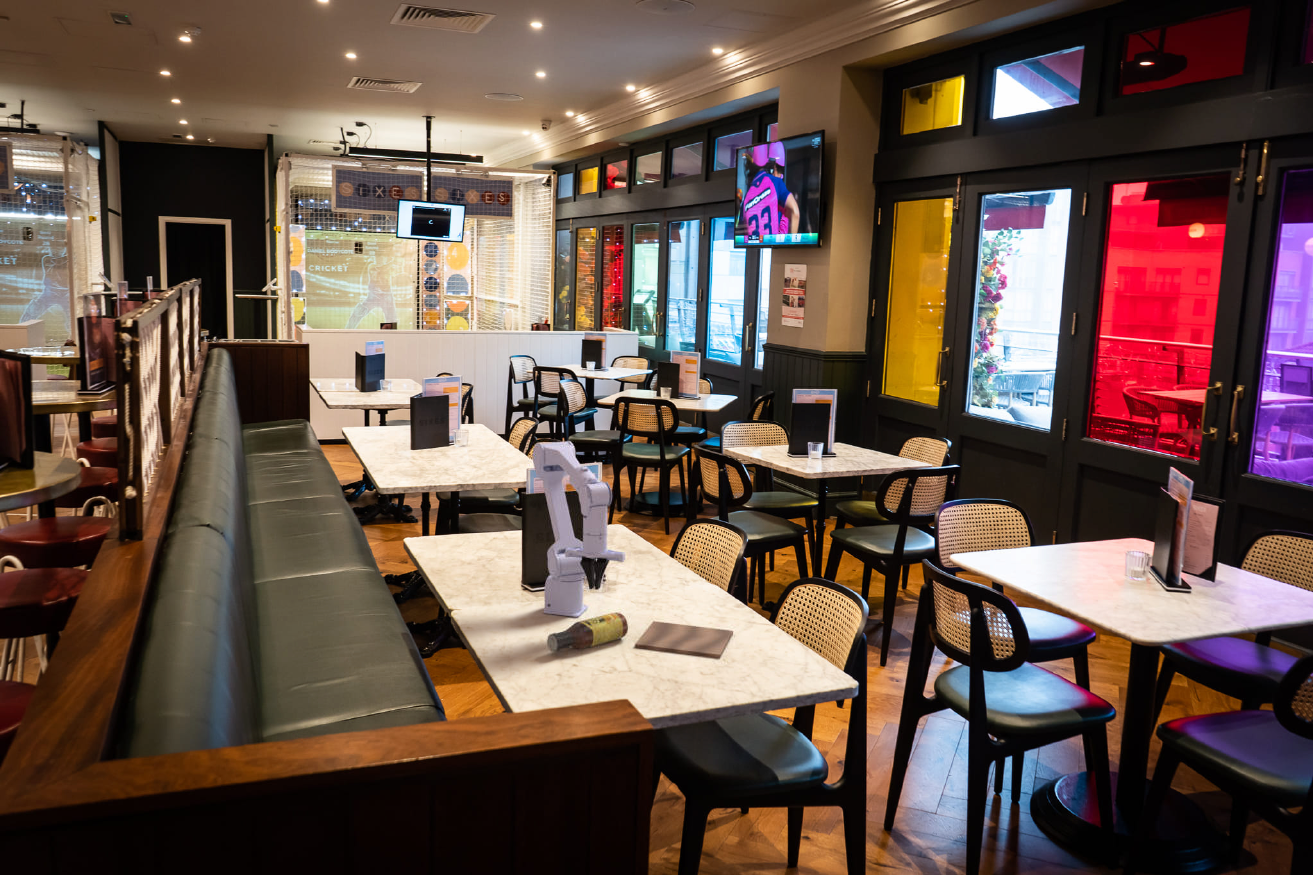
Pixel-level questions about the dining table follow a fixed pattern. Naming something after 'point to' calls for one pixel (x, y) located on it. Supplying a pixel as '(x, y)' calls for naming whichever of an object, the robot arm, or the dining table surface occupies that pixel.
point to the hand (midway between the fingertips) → (594, 588)
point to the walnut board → (685, 639)
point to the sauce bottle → (590, 632)
